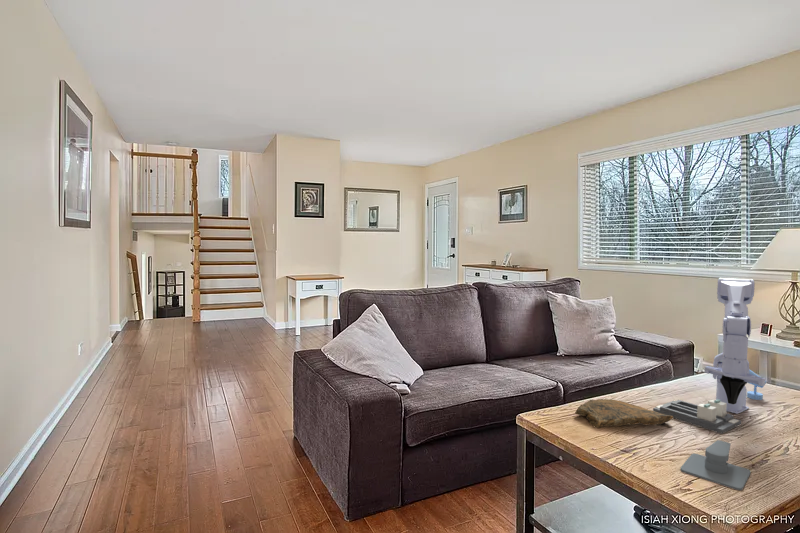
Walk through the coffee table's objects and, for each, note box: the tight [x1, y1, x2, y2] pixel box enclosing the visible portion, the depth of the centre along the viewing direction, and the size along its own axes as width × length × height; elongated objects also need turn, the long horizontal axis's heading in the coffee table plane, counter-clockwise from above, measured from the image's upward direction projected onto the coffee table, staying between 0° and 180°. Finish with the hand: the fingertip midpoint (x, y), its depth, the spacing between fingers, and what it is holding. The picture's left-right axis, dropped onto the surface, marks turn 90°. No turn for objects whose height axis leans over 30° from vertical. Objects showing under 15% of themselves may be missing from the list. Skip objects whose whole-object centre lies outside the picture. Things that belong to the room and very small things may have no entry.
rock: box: [574, 398, 674, 429], centre depth 142 cm, size 25×6×20 cm
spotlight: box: [746, 369, 767, 401], centre depth 164 cm, size 5×10×7 cm
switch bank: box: [652, 399, 742, 434], centre depth 145 cm, size 13×20×2 cm, turn 33°
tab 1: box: [697, 402, 717, 422], centre depth 139 cm, size 3×4×5 cm
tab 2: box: [707, 399, 727, 417], centre depth 143 cm, size 3×4×5 cm
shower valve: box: [680, 439, 752, 491], centre depth 112 cm, size 12×6×15 cm
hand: (732, 403), depth 133 cm, fingers closed
